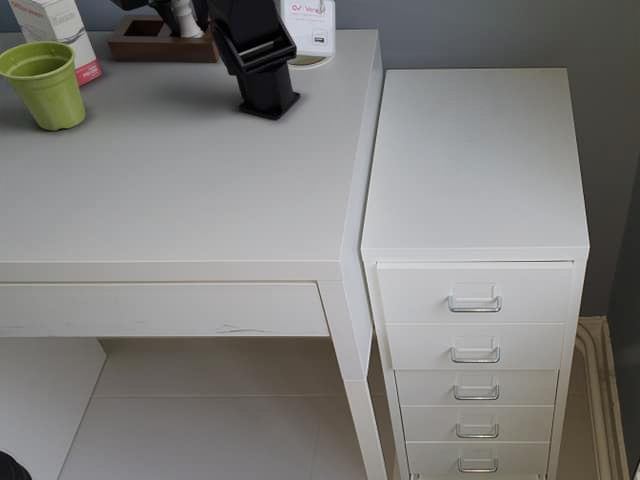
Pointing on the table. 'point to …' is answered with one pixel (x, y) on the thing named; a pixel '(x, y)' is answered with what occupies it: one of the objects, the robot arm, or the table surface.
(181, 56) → the wooden compartment tray
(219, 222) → the table surface
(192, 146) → the table surface
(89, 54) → the ink box
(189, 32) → the rook chess piece
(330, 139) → the table surface
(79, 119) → the plant pot
